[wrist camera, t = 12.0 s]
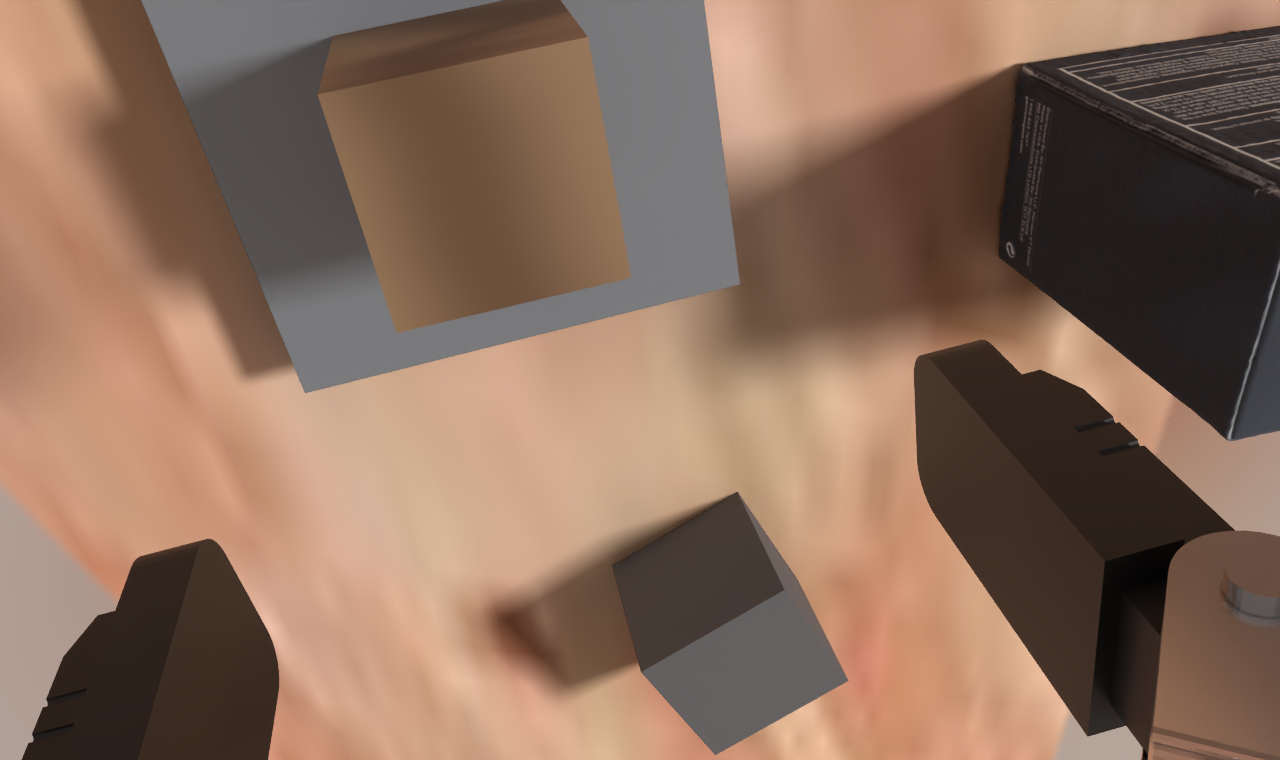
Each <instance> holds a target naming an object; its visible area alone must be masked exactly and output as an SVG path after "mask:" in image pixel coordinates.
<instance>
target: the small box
mask: <svg viewBox="0 0 1280 760" xmlns="http://www.w3.org/2000/svg"><path fill="white" fill-rule="evenodd" d="M1015 89H1016V98H1015V101H1016V112H1015V117H1014V119H1013V124H1014V127H1013V136H1012V145H1011V152H1010V161H1009V170H1008V176H1007V184H1006V193H1005V201H1004V204H1003V206H1002V209H1001V212H1002V215H1001V232H1000V247H999V257H1000V259H1002V260H1003V261H1005V262H1006V263H1008V264H1009V265H1010V266H1011V267H1013V268H1014V269H1015V270H1016V271H1018V272H1019V273H1020V274H1021V275H1023V276H1024V277H1025V278H1027V279H1028V280H1029V281H1031V282H1032V283H1033V284H1034V285H1035V286H1037V287H1038V288H1039V289H1040V290H1042V291H1043V292H1044V293H1046V294H1047V295H1048V296H1050V297H1051V298H1052V299H1053V300H1055V301H1056V302H1057V303H1058V304H1060V305H1061V306H1062V307H1063V308H1065V309H1066V310H1067V311H1069V312H1070V313H1071V314H1072V315H1073V316H1075V317H1076V318H1077V319H1078V320H1080V321H1081V322H1082V323H1084V324H1085V325H1086V326H1087V327H1089V328H1090V329H1091V330H1092V331H1094V332H1095V333H1096V334H1097V335H1099V336H1100V337H1101V338H1103V339H1104V340H1105V341H1106V342H1107V343H1109V344H1110V345H1111V346H1113V347H1114V348H1115V349H1116V350H1117V351H1119V352H1120V353H1121V354H1122V355H1123V356H1125V357H1126V358H1127V359H1129V360H1130V361H1131V362H1132V363H1134V364H1135V365H1136V366H1137V367H1139V368H1140V369H1141V370H1142V371H1143V372H1145V373H1146V374H1147V375H1149V376H1150V377H1151V378H1152V379H1154V380H1155V381H1156V382H1157V383H1159V384H1160V385H1161V386H1162V387H1164V388H1165V389H1166V390H1167V391H1168V392H1170V393H1171V394H1172V395H1173V396H1175V397H1176V398H1177V399H1178V400H1180V401H1181V402H1182V403H1184V404H1185V405H1186V406H1188V407H1189V408H1191V409H1192V410H1193V411H1194V412H1196V413H1197V414H1198V415H1199V416H1200V417H1201V418H1202V419H1204V420H1205V421H1206V422H1208V423H1209V424H1210V425H1211V426H1212V427H1213V428H1214V429H1215V430H1217V431H1218V432H1219V434H1220V435H1222V436H1223V437H1224V438H1225V439H1226V440H1228V441H1235V440H1239V439H1243V438H1247V437H1253V436H1257V435H1260V434H1266V433H1271V432H1276V431H1280V26H1279V27H1273V28H1266V29H1258V30H1250V31H1240V32H1236V33H1231V34H1223V35H1216V36H1208V37H1203V38H1196V39H1189V40H1180V41H1175V42H1169V43H1158V44H1152V45H1146V46H1140V47H1134V48H1127V49H1119V50H1113V51H1107V52H1099V53H1092V54H1086V55H1079V56H1073V57H1067V58H1063V59H1054V60H1048V61H1043V62H1036V63H1027V64H1024V66H1023V68H1022V69H1021V71H1020V72H1019V76H1018V84H1017V86H1016V88H1015Z"/></svg>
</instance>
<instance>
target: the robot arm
mask: <svg viewBox="0 0 1280 760" xmlns="http://www.w3.org/2000/svg"><path fill="white" fill-rule="evenodd" d="M914 388H915V414H916V441H917V463H918V471H919V476H920V480H921V484H922V487H923V490H924V493H925V496H926V498H927V501H928V503H929V505H930V507H931V509H932V511H933V513H934V514H935V516H936V517H937V519H938V520H939V522H940V523H941V525H942V526H943V528H944V529H945V531H946V532H947V533H948V535H949V536H950V538H951V539H952V541H953V542H954V544H955V545H956V546H957V548H958V549H959V551H960V552H961V554H962V555H963V557H964V558H965V560H966V561H967V562H968V564H969V565H970V567H971V568H972V570H973V571H974V573H975V574H976V575H977V577H978V578H979V580H980V581H981V583H982V584H983V586H984V587H985V588H986V590H987V591H988V593H989V594H990V596H991V597H992V599H993V600H994V602H995V603H996V604H997V606H998V607H999V609H1000V610H1001V612H1002V613H1003V615H1004V616H1005V617H1006V619H1007V620H1008V622H1009V623H1010V625H1011V626H1012V628H1013V629H1014V631H1015V632H1016V633H1017V635H1018V636H1019V638H1020V639H1021V641H1022V642H1023V644H1024V645H1025V646H1026V648H1027V649H1028V651H1029V652H1030V654H1031V655H1032V657H1033V658H1034V660H1035V661H1036V662H1037V664H1038V665H1039V667H1040V668H1041V670H1042V671H1043V673H1044V674H1045V675H1046V677H1047V678H1048V680H1049V681H1050V683H1051V684H1052V686H1053V687H1054V688H1055V690H1056V691H1057V693H1058V694H1059V696H1060V697H1061V699H1062V700H1063V702H1064V703H1065V704H1066V706H1067V707H1068V709H1069V710H1070V712H1071V713H1072V715H1073V716H1074V717H1075V719H1076V720H1077V722H1078V723H1079V725H1080V726H1081V728H1082V729H1083V731H1084V732H1085V733H1086V735H1087V736H1091V735H1095V734H1098V733H1101V732H1105V731H1109V730H1112V729H1116V728H1119V727H1123V726H1127V727H1128V728H1129V730H1130V731H1131V733H1132V734H1133V735H1134V737H1135V738H1136V739H1137V741H1138V742H1139V743H1140V745H1141V746H1142V747H1143V748H1142V756H1141V760H1280V537H1279V536H1276V535H1271V534H1266V533H1261V532H1252V531H1235V530H1234V529H1233V528H1232V527H1231V526H1230V525H1228V523H1227V522H1225V521H1224V520H1223V519H1222V518H1221V517H1220V516H1219V515H1218V514H1217V513H1216V512H1215V511H1214V510H1212V508H1210V507H1209V506H1208V505H1207V504H1206V503H1205V502H1204V501H1203V500H1202V499H1201V498H1200V497H1199V496H1198V495H1196V494H1195V493H1194V492H1193V491H1192V490H1191V489H1190V488H1189V487H1188V486H1187V485H1186V484H1185V483H1184V482H1182V480H1180V479H1179V478H1178V477H1177V476H1176V475H1175V474H1174V473H1173V472H1172V471H1171V470H1170V469H1169V468H1168V467H1167V466H1165V465H1164V464H1163V463H1162V462H1161V461H1160V460H1159V459H1158V458H1157V457H1156V456H1155V455H1154V454H1153V453H1152V452H1150V451H1149V450H1148V449H1147V448H1146V447H1145V446H1139V444H1138V439H1137V438H1135V437H1134V436H1133V435H1132V434H1131V433H1130V432H1129V431H1128V430H1127V429H1126V428H1125V427H1124V426H1123V425H1122V424H1120V423H1119V422H1118V423H1115V422H1114V419H1113V416H1112V415H1111V414H1110V413H1109V412H1108V411H1107V410H1105V409H1104V408H1103V407H1102V406H1101V405H1100V404H1099V403H1098V402H1097V401H1096V400H1095V399H1094V398H1093V397H1092V396H1090V395H1089V394H1088V393H1087V392H1086V391H1085V390H1084V389H1082V388H1080V387H1078V386H1076V385H1073V384H1071V383H1069V382H1067V381H1064V380H1062V379H1060V378H1058V377H1056V376H1053V375H1051V374H1049V373H1047V372H1044V371H1042V370H1038V371H1034V372H1030V373H1026V374H1021V373H1020V372H1019V371H1018V370H1017V369H1016V368H1015V367H1014V366H1013V365H1012V364H1011V363H1010V362H1009V361H1008V360H1007V359H1006V358H1005V357H1004V356H1003V355H1002V354H1001V353H1000V352H999V351H998V350H997V349H996V348H995V347H994V346H993V345H991V344H990V343H989V342H987V341H986V340H978V341H974V342H971V343H967V344H963V345H959V346H955V347H951V348H947V349H944V350H940V351H936V352H932V353H928V354H924V355H921V356H919V357H918V358H917V360H916V362H915V367H914ZM278 691H279V670H278V662H277V657H276V652H275V649H274V645H273V642H272V640H271V637H270V635H269V633H268V631H267V629H266V627H265V625H264V623H263V622H262V620H261V618H260V616H259V614H258V612H257V611H256V609H255V607H254V605H253V603H252V602H251V600H250V598H249V596H248V594H247V592H246V591H245V589H244V587H243V585H242V583H241V582H240V580H239V578H238V576H237V574H236V572H235V571H234V569H233V567H232V565H231V563H230V562H229V560H228V558H227V556H226V554H225V553H224V551H223V549H222V548H221V547H220V546H219V544H218V543H216V542H215V541H214V540H212V539H205V540H202V541H198V542H194V543H190V544H186V545H182V546H178V547H175V548H171V549H167V550H163V551H159V552H155V553H152V554H148V555H144V556H140V557H139V558H137V559H136V560H135V561H134V563H133V565H132V567H131V569H130V572H129V575H128V578H127V580H126V583H125V586H124V589H123V591H122V594H121V597H120V600H119V602H118V605H117V608H116V611H113V612H109V613H105V614H101V615H98V616H97V617H96V618H95V619H94V621H93V622H92V623H91V624H90V625H89V626H88V628H87V629H86V630H85V631H84V633H83V634H82V635H81V636H80V637H79V639H78V640H77V641H76V642H75V643H74V645H73V646H72V647H71V648H70V649H69V651H68V652H67V653H66V654H65V656H64V657H63V659H62V662H61V664H60V666H59V669H58V671H57V674H56V676H55V679H54V681H53V684H52V687H51V689H50V691H49V694H48V696H47V702H48V706H47V707H43V709H42V711H41V713H40V716H39V718H38V721H37V723H36V726H35V728H34V731H33V733H32V735H33V738H34V740H33V742H31V743H28V746H27V748H26V750H25V753H24V755H23V758H22V760H268V756H269V749H270V743H271V736H272V730H273V724H274V717H275V711H276V704H277V698H278Z"/></svg>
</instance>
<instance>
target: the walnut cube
mask: <svg viewBox="0 0 1280 760" xmlns="http://www.w3.org/2000/svg"><path fill="white" fill-rule="evenodd" d="M318 97H319V100H320V103H321V106H322V109H323V112H324V115H325V118H326V122H327V125H328V128H329V131H330V134H331V137H332V140H333V143H334V146H335V149H336V152H337V155H338V158H339V161H340V164H341V167H342V170H343V173H344V176H345V179H346V182H347V185H348V188H349V191H350V194H351V197H352V200H353V203H354V206H355V209H356V212H357V215H358V218H359V221H360V224H361V227H362V230H363V233H364V236H365V239H366V242H367V245H368V248H369V251H370V254H371V257H372V260H373V263H374V266H375V270H376V273H377V276H378V279H379V282H380V285H381V288H382V291H383V294H384V297H385V300H386V303H387V306H388V309H389V312H390V315H391V318H392V321H393V324H394V327H395V330H396V333H400V332H404V331H408V330H412V329H417V328H421V327H425V326H429V325H434V324H438V323H442V322H446V321H451V320H455V319H459V318H463V317H467V316H472V315H476V314H480V313H484V312H489V311H493V310H497V309H501V308H506V307H510V306H514V305H518V304H522V303H527V302H531V301H535V300H539V299H544V298H548V297H552V296H556V295H561V294H565V293H569V292H573V291H577V290H582V289H586V288H590V287H594V286H599V285H603V284H607V283H611V282H616V281H620V280H624V279H628V278H631V273H630V267H629V262H628V256H627V251H626V245H625V240H624V234H623V229H622V223H621V217H620V212H619V206H618V201H617V195H616V190H615V184H614V178H613V173H612V167H611V162H610V156H609V151H608V145H607V140H606V134H605V128H604V123H603V117H602V112H601V106H600V101H599V95H598V89H597V84H596V78H595V73H594V67H593V62H592V56H591V51H590V45H589V39H588V36H587V35H586V34H585V32H584V31H583V30H582V28H581V27H580V26H579V24H578V23H577V22H576V20H575V19H574V18H573V16H572V15H571V14H570V12H569V11H568V10H567V8H566V7H565V6H564V4H563V3H562V2H561V0H503V1H498V2H493V3H489V4H484V5H479V6H474V7H469V8H465V9H460V10H455V11H450V12H445V13H441V14H436V15H431V16H426V17H421V18H416V19H412V20H407V21H402V22H397V23H392V24H388V25H383V26H378V27H373V28H368V29H364V30H359V31H354V32H349V33H344V34H339V35H335V36H333V38H332V42H331V45H330V49H329V53H328V57H327V61H326V64H325V68H324V72H323V76H322V80H321V83H320V87H319V91H318Z"/></svg>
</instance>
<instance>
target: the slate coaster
mask: <svg viewBox="0 0 1280 760" xmlns="http://www.w3.org/2000/svg"><path fill="white" fill-rule="evenodd" d="M141 1H142V4H143V6H144V8H145V11H146V13H147V16H148V18H149V20H150V23H151V25H152V28H153V30H154V32H155V35H156V37H157V40H158V42H159V44H160V47H161V49H162V51H163V54H164V56H165V59H166V61H167V63H168V66H169V68H170V71H171V73H172V75H173V78H174V80H175V83H176V85H177V87H178V90H179V92H180V95H181V97H182V99H183V102H184V104H185V107H186V109H187V111H188V114H189V116H190V119H191V121H192V123H193V126H194V128H195V131H196V133H197V135H198V138H199V140H200V143H201V145H202V147H203V150H204V152H205V155H206V157H207V159H208V162H209V164H210V166H211V169H212V171H213V174H214V176H215V178H216V181H217V183H218V186H219V188H220V190H221V193H222V195H223V198H224V200H225V202H226V205H227V207H228V210H229V212H230V214H231V217H232V219H233V222H234V224H235V226H236V229H237V231H238V234H239V236H240V238H241V241H242V243H243V246H244V248H245V250H246V253H247V255H248V258H249V260H250V262H251V265H252V267H253V270H254V272H255V274H256V277H257V279H258V281H259V284H260V286H261V289H262V291H263V293H264V296H265V298H266V301H267V303H268V305H269V308H270V310H271V313H272V315H273V317H274V320H275V322H276V325H277V327H278V329H279V332H280V334H281V337H282V339H283V341H284V344H285V346H286V349H287V351H288V353H289V356H290V358H291V361H292V363H293V365H294V368H295V370H296V373H297V375H298V377H299V380H300V382H301V385H302V387H303V389H304V392H305V393H308V392H312V391H316V390H320V389H324V388H328V387H332V386H336V385H340V384H344V383H348V382H352V381H356V380H360V379H364V378H368V377H372V376H376V375H380V374H384V373H388V372H392V371H396V370H400V369H404V368H408V367H412V366H416V365H420V364H424V363H428V362H432V361H436V360H440V359H444V358H448V357H452V356H456V355H460V354H464V353H468V352H472V351H476V350H480V349H484V348H488V347H492V346H496V345H500V344H504V343H508V342H512V341H516V340H520V339H524V338H528V337H532V336H536V335H540V334H544V333H548V332H552V331H556V330H560V329H564V328H568V327H572V326H576V325H580V324H584V323H588V322H592V321H596V320H600V319H604V318H608V317H612V316H616V315H620V314H624V313H628V312H632V311H636V310H640V309H644V308H648V307H652V306H656V305H660V304H664V303H668V302H672V301H676V300H680V299H684V298H688V297H692V296H696V295H700V294H704V293H708V292H712V291H716V290H720V289H724V288H728V287H732V286H736V285H740V280H739V272H738V264H737V256H736V249H735V241H734V233H733V225H732V217H731V209H730V202H729V194H728V186H727V178H726V170H725V162H724V155H723V147H722V139H721V131H720V123H719V115H718V108H717V100H716V92H715V84H714V76H713V69H712V61H711V53H710V45H709V37H708V29H707V22H706V14H705V6H704V0H561V2H562V3H563V4H564V6H565V7H566V8H567V10H568V11H569V12H570V14H571V15H572V16H573V18H574V19H575V20H576V22H577V23H578V24H579V26H580V27H581V28H582V30H583V31H584V32H585V34H586V35H587V36H588V39H589V45H590V51H591V56H592V62H593V67H594V73H595V78H596V84H597V89H598V95H599V101H600V106H601V112H602V117H603V123H604V128H605V134H606V140H607V145H608V151H609V156H610V162H611V167H612V173H613V178H614V184H615V190H616V195H617V201H618V206H619V212H620V217H621V223H622V229H623V234H624V240H625V245H626V251H627V256H628V262H629V267H630V273H631V278H628V279H624V280H620V281H616V282H611V283H607V284H603V285H599V286H594V287H590V288H586V289H582V290H577V291H573V292H569V293H565V294H561V295H556V296H552V297H548V298H544V299H539V300H535V301H531V302H527V303H522V304H518V305H514V306H510V307H506V308H501V309H497V310H493V311H489V312H484V313H480V314H476V315H472V316H467V317H463V318H459V319H455V320H451V321H446V322H442V323H438V324H434V325H429V326H425V327H421V328H417V329H412V330H408V331H404V332H400V333H396V330H395V327H394V324H393V321H392V318H391V315H390V312H389V309H388V306H387V303H386V300H385V297H384V294H383V291H382V288H381V285H380V282H379V279H378V276H377V273H376V270H375V266H374V263H373V260H372V257H371V254H370V251H369V248H368V245H367V242H366V239H365V236H364V233H363V230H362V227H361V224H360V221H359V218H358V215H357V212H356V209H355V206H354V203H353V200H352V197H351V194H350V191H349V188H348V185H347V182H346V179H345V176H344V173H343V170H342V167H341V164H340V161H339V158H338V155H337V152H336V149H335V146H334V143H333V140H332V137H331V134H330V131H329V128H328V125H327V122H326V118H325V115H324V112H323V109H322V106H321V103H320V100H319V97H318V91H319V87H320V83H321V80H322V76H323V72H324V68H325V64H326V61H327V57H328V53H329V49H330V45H331V42H332V38H333V36H335V35H339V34H344V33H349V32H354V31H359V30H364V29H368V28H373V27H378V26H383V25H388V24H392V23H397V22H402V21H407V20H412V19H416V18H421V17H426V16H431V15H436V14H441V13H445V12H450V11H455V10H460V9H465V8H469V7H474V6H479V5H484V4H489V3H493V2H498V1H503V0H141Z"/></svg>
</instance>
